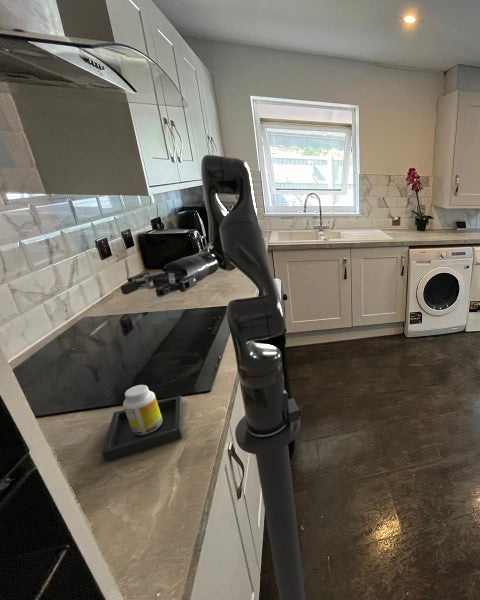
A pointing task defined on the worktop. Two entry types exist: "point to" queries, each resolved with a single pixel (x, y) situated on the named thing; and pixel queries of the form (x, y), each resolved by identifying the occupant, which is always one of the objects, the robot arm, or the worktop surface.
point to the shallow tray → (127, 442)
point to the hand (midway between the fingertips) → (140, 291)
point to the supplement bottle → (142, 410)
